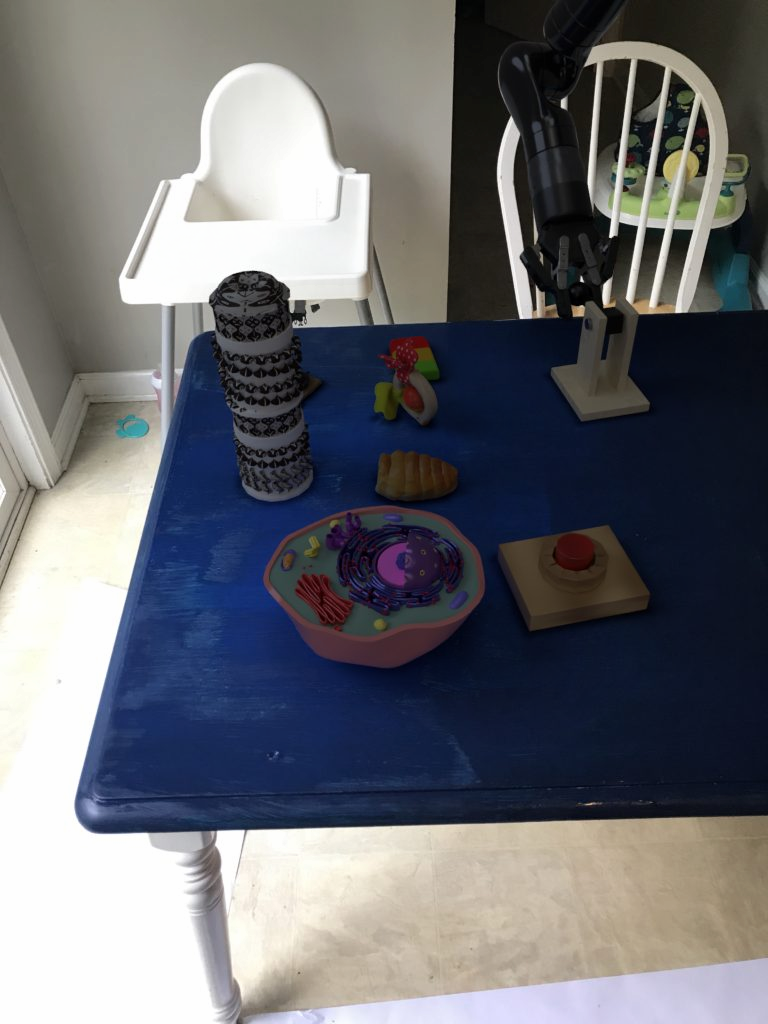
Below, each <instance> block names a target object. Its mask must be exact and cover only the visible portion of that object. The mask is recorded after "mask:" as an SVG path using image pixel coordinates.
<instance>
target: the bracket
mask: <svg viewBox="0 0 768 1024" xmlns="http://www.w3.org/2000/svg"><path fill="white" fill-rule="evenodd" d="M614 307H615V308H617V309H618V310H619V311H620V312H622V313H623V314H624V319H623V329H622V333H618V334H611V335H609V340H608V345H607V352H606V356H605V359H602V354H603V347H604V341H605V336H606V335H605V330H606V323H607V317H606V316H605V315H604V313H603V312H602V311H601V310H600V309H599V307H598V306H597V305H596V304H595V303H594V301H589V302H586V304H585V307H584V312H583V319H582V320H583V321H582V326H581V333H580V339H579V347H578V355H577V362H576V363H574V364H567V365H561V366H554V367H551V370H550V377H551V378H552V380H553V381H554V382H555V384H556V385H557V387H558V388H559V390H560V391H561V393H562V394H563V396H564V398H565V399H566V400H567V402H568V404H569V405H570V406H571V408H572V410H573V412H575V414H576V415H577V417H578V418H579V420H580V422H588V421H594V420H601V419H607V418H613V417H618V416H625V415H633V414H639V413H644V412H649V410H650V407H651V406H650V405H651V403H650V401H649V400H648V399H647V397H646V396H645V395H644V394H643V392H642V391H641V390H640V389H639V387H638V386H637V384H635V382H634V381H633V379H632V378H631V377H630V376H629V369H630V363H631V358H632V353H633V347H634V342H635V337H636V331H637V327H638V321H639V316H640V313H639V312H638V310H637V309H636V308H635V307H634V306H633V305H632V304H631V303H630V302H629V301H628V300H627V298H626V297H625V296H618V297H616V298H615V304H614Z"/></svg>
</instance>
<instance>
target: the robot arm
mask: <svg viewBox="0 0 768 1024" xmlns="http://www.w3.org/2000/svg"><path fill="white" fill-rule="evenodd" d="M629 1H630V0H556V1H555V2H554V4H553V5H552V7H551V8H550V9H549V12H548V13H547V14H546V17H545V19H544V22H543V36H544V39H545V41H546V42H536V41H525V40H520V41H515V42H512V43H511V44H510V45H508V46H507V47H506V48H505V50H504V51H503V53H502V55H501V57H500V60H499V63H498V69H497V81H498V88H499V91H500V94H501V97H502V99H503V102H504V104H505V106H506V108H507V110H508V112H509V115H510V116H511V118H512V121H513V122H514V125H515V127H516V129H517V131H518V132H519V134H520V136H521V139H522V146H523V151H524V157H525V163H526V169H527V183H528V184H527V185H528V195H529V198H530V201H531V207H532V213H533V219H534V224H535V229H536V232H537V238H536V241H535V244H533V245H531V246H530V245H528V246H526V247H525V248H524V249H523V250H522V252H521V253H520V254H519V257H518V258H519V260H520V262H521V264H522V265H523V267H524V269H525V271H526V272H527V274H528V276H529V277H530V279H531V280H532V282H533V283H534V285H535V286H536V288H537V290H538V291H539V293H545V292H546V293H549V294H551V295H553V298H554V303H555V309H556V314H557V316H558V318H559V319H561V320H562V322H563V323H565V322H569V321H571V320H572V319H573V318H574V312H573V305H571V300H570V295H569V290H567V287H568V286H567V285H568V284H567V283H568V271H569V268H576V271H577V273H578V275H579V276H580V277H581V279H582V282H584V283H586V284H587V285H588V287H589V288H590V297H591V298H592V299H594V300H595V301H596V302H597V303H598V304H600V305H601V306H602V307H603V308H605V307H604V306H605V305H604V300H603V299H604V298H603V294H602V289H601V288H602V287H601V286H602V285H605V284H606V283H607V282H608V281H609V280H611V279H612V278H613V276H614V272H615V267H616V263H617V257H618V252H619V247H620V244H621V243H620V242H621V238H620V237H619V236H618V235H613V236H611V237H609V236H606V235H601V233H600V231H599V230H598V228H597V227H596V224H595V217H594V210H593V205H592V200H591V199H592V198H591V194H590V188H589V184H588V178H587V177H588V176H587V173H586V167H585V164H584V161H583V157H582V155H581V151H580V146H579V140H578V135H577V128H576V124H575V120H574V117H573V115H572V113H571V112H570V111H569V110H567V109H566V108H563V107H561V106H558V105H556V104H555V103H557V102H561V101H562V100H564V99H565V98H567V97H568V96H569V95H571V94H572V92H573V91H574V90H575V88H576V86H577V84H578V82H579V79H580V77H581V74H582V72H583V70H584V68H585V65H586V63H587V62H588V59H589V57H590V54H591V53H592V50H593V48H594V47H595V46H596V44H597V43H598V42H599V41H600V40H601V38H602V37H604V35H605V34H606V33H607V31H608V30H609V28H610V27H611V26H613V24H614V23H615V22H616V20H617V19H618V18H619V16H620V15H621V14H622V12H623V10H624V9H625V7H626V6H627V4H628V2H629ZM597 246H598V247H599V253H600V254H601V256H602V257H601V260H600V265H599V269H597V268H598V267H597V265H598V264H597V261H596V260H597V259H596V258H595V255H594V252H595V249H596V247H597ZM542 256H544V258H545V259H546V260H547V261H548V262H549V263H550V273H549V272H548V271H547V269H546V267H545V266H544V264H543V262H542V261H541V257H542Z"/></svg>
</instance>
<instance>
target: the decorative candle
mask: <svg viewBox="0 0 768 1024" xmlns="http://www.w3.org/2000/svg"><path fill="white" fill-rule="evenodd" d="M290 298H291V289H290V288H289V287H288V285H286V284H285V282H282V281H280V280H278V279H277V278H276V277H275V276H274V275H273V274H271V273H268V272H266V271H263V270H242V271H239V272H235V273H232V274H230V275H228V276H226V277H225V278H223V279H222V280H221V281H220V282H219V284H218V285H217V286H216V287H215V289H214V290H213V291H212V292H211V293H210V294H209V296H208V305H209V306H210V307H211V309H212V314H213V318H214V319H213V320H214V324H215V325H214V332H213V333H212V334H210V338H211V339H212V340H211V341H210V345H211V346H212V349H213V351H212V354H211V355H212V357H213V358H214V359H216V360H217V361H216V366H217V367H218V368H217V374H218V375H219V377H220V378H221V379H220V381H219V385H220V387H222V388H224V389H223V393H224V395H225V396H224V402H225V403H226V405H227V406H228V407H229V409H230V411H231V412H232V416H233V420H232V421H233V423H232V425H233V431H232V434H233V438H232V442H233V444H234V445H235V447H236V449H235V450H234V453H235V455H237V457H236V458H237V462H236V464H237V468H239V472H238V473H239V477H240V479H241V484H242V487H243V489H244V490H245V492H246V493H247V495H250V496H251V497H252V498H254V499H256V500H260V501H265V502H272V503H273V502H283V501H288V500H290V499H293V498H296V497H298V496H301V494H303V493H304V492H305V491H307V490H308V489H309V487H310V486H311V484H312V483H313V480H314V471H313V469H314V467H313V465H311V464H310V463H312V462H313V457H312V456H313V455H311V454H309V453H311V451H312V448H311V442H310V441H309V440H310V433H309V431H308V429H309V424H308V422H305V415H304V409H302V405H301V403H302V402H301V403H300V401H301V399H302V397H303V390H304V385H303V384H304V381H303V379H301V378H302V376H303V372H304V371H303V367H302V366H301V365H300V363H302V362H303V356H302V355H303V352H302V350H301V349H300V348H301V347H302V341H301V339H300V336H298V335H296V334H295V333H294V325H293V317H292V315H291V314H290V307H289V299H290Z"/></svg>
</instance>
